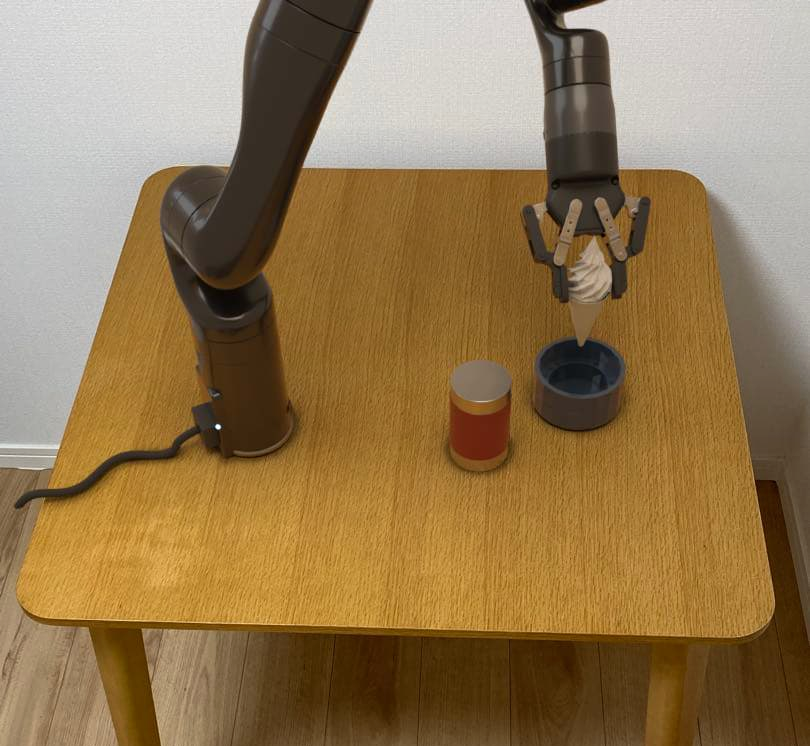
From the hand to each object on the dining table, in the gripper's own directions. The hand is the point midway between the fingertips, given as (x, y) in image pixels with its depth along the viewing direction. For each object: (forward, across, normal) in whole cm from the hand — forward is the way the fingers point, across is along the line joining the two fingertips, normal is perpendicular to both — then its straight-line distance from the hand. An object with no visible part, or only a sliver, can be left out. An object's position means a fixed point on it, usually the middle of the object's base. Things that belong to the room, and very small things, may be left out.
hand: (590, 300), depth 126 cm
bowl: (+11, 0, +13) cm, 17 cm away
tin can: (+15, -12, +8) cm, 21 cm away
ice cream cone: (+5, 0, +7) cm, 8 cm away
